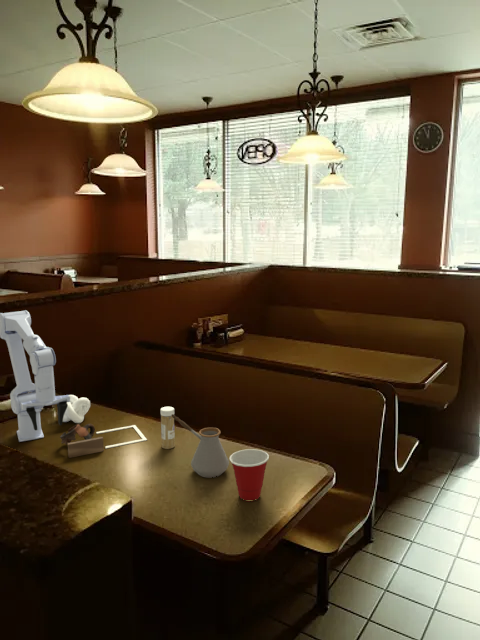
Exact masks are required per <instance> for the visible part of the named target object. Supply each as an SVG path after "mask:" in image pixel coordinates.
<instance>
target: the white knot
mask: <svg viewBox="0 0 480 640" xmlns="http://www.w3.org/2000/svg"><path fill="white" fill-rule="evenodd" d="M68 395H69V396H70V402H67V404H68V406H67V409H66V411H65V413H64V417H63V421H62V423H67V422H69V421H72V422H73V423H75V424H81V423H82V422H83V421H84V419H85V415H86V414H87V413H88V411H89V410H90V408H91V400H89V398H87V397H80V398H78V396H76V395H74V394H68Z"/></svg>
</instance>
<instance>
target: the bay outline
mask: <svg viewBox="0 0 480 640" xmlns="http://www.w3.org/2000/svg"><path fill="white" fill-rule="evenodd" d="M132 428H133V429H134V431H135V432H136V433H137V434H138V436H139V437H140V438H141V439H135V440H130V441H124V442H121V443H116V444H110V445H106V446H105V445H104V448H105V449H110V448H111V449H112V448H115V447H120V446H126V445H132V444H134V443H141V442H145V441H148V439H147V437H145V435H144V434H143V433H142V431H141V430H140V429H139V427H137V425H136V424H132V425H128V426H123V427H122V426H121V427H115V428H112V429H111V428H110V429H106V430H100V431H96V432H95V434H96V435H100V434H105V433H111V432H115V431H116V432H117V431H120V430H126V429H132Z"/></svg>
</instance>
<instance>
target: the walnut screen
mask: <svg viewBox="0 0 480 640" xmlns="http://www.w3.org/2000/svg"><path fill="white" fill-rule="evenodd" d="M104 448H105V445H104V437H103V436H98V437H92V438H91V439H88V440H85V439H82V440H77V441H73V442H72V441H71V442H70V443H68V442H67V453H68V454H67V455H68V456H67V457H68V458H69V459H70V458H71V459H72V458H77V457H80V456H86V455H90V454H94V453H100V452H104V450H105V449H104Z"/></svg>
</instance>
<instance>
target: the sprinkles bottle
mask: <svg viewBox="0 0 480 640" xmlns="http://www.w3.org/2000/svg"><path fill="white" fill-rule="evenodd" d="M172 414H173V415H175V408H174V407H172V406H164V407H163V406H162V407H161V408H160V426H161V427H160V430H161V433H160V434H161V448H163V449H165V450H167V449H168V450H170V449H173V448H174V447H175V446H176V443H175V441H176V440H175V435H176V434H175V418H173V417H172V416H171V415H172ZM170 416H171V417H170ZM169 417H170V419H171V420H170V419H169ZM172 418H173V419H172Z"/></svg>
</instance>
